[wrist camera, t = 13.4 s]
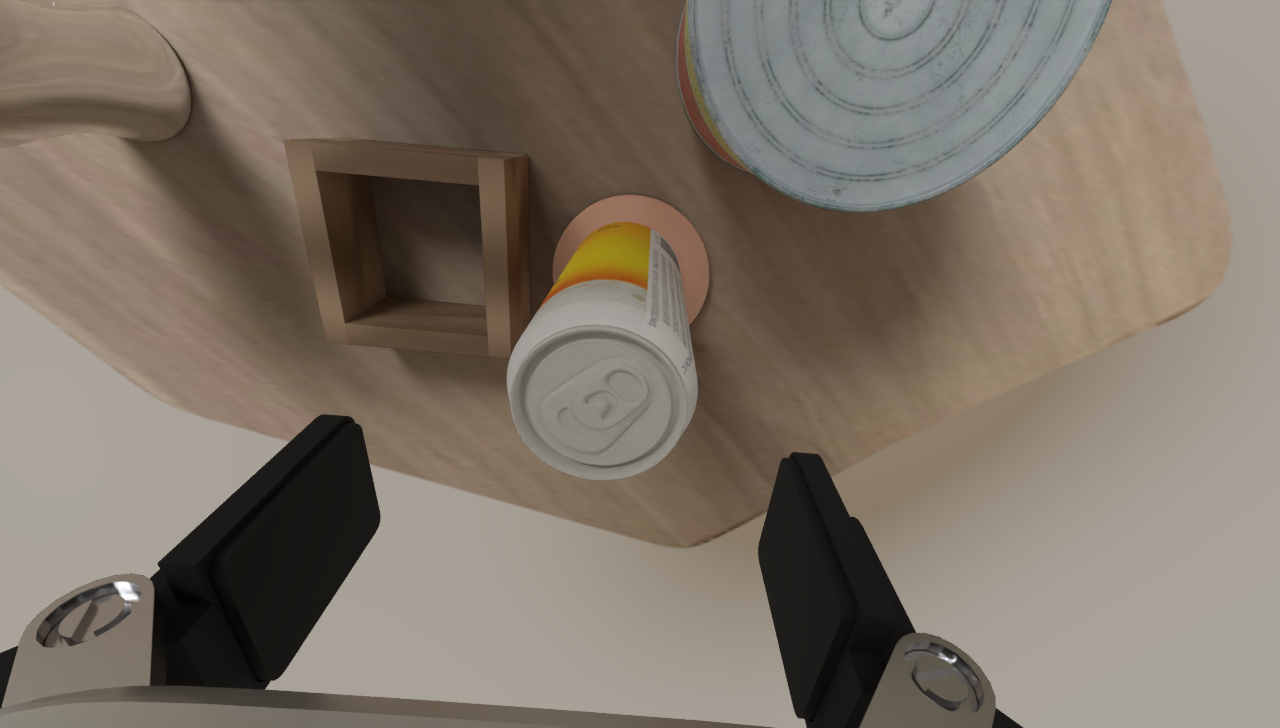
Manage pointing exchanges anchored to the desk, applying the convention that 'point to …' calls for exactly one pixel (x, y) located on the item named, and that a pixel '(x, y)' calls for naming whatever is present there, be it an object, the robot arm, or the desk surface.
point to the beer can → (607, 359)
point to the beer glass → (86, 74)
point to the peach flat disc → (654, 217)
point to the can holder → (351, 252)
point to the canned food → (875, 89)
